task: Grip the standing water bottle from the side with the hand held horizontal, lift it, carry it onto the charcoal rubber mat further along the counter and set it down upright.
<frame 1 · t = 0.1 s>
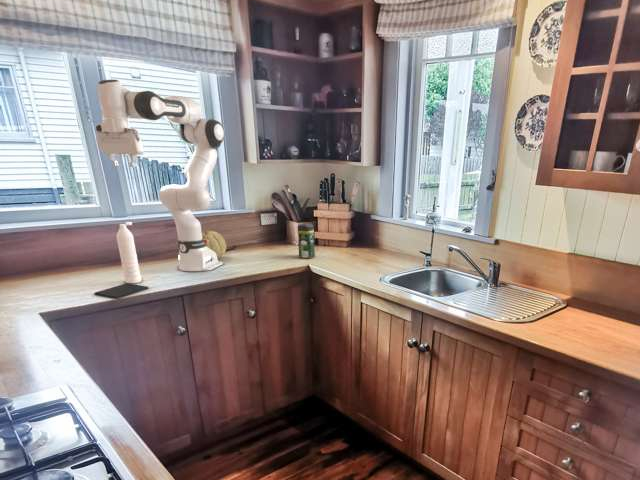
hand: (124, 166, 185), 48 cm above the worktop, tool pointing down, fingers open, 8 cm apart
ribbed yellow melon: (213, 259, 250), on the worktop, touching arm
water bottle: (135, 281, 208), on the worktop
pickle jar: (306, 257, 261), on the worktop
mat: (122, 291, 194), on the worktop
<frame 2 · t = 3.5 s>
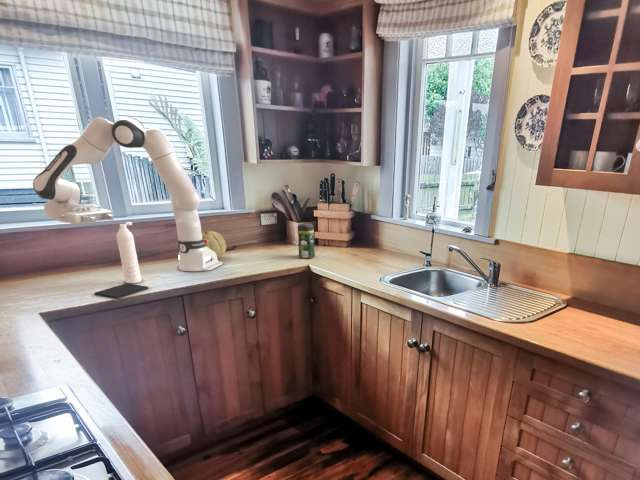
hand: (103, 218, 200), 26 cm above the worktop, tool horizontal, fingers open, 8 cm apart
nothing on the worktop moved.
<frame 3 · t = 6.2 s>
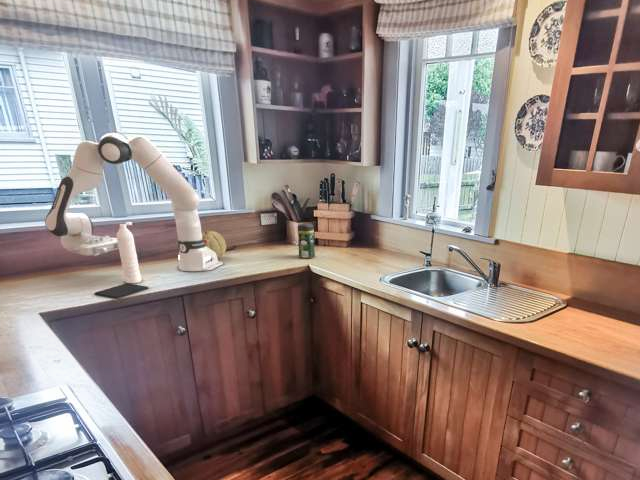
hand: (114, 248, 206), 13 cm above the worktop, tool horizontal, fingers open, 8 cm apart
nothing on the worktop moved.
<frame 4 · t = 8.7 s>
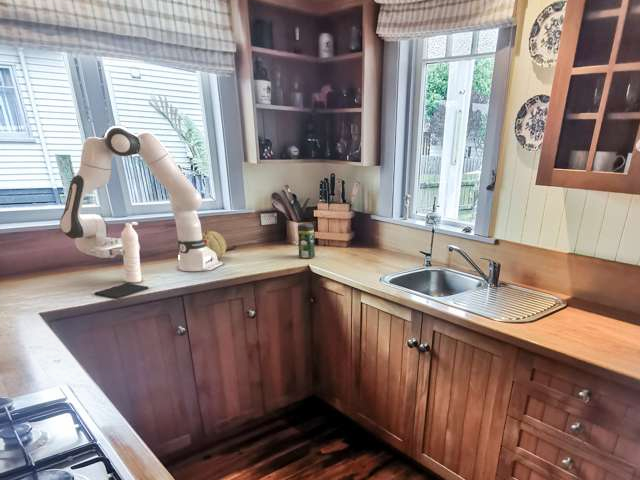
hand: (130, 250, 202), 14 cm above the worktop, tool horizontal, fingers closed on water bottle, 6 cm apart
water bottle: (134, 280, 208), on the worktop, touching gripper
everything else where it was.
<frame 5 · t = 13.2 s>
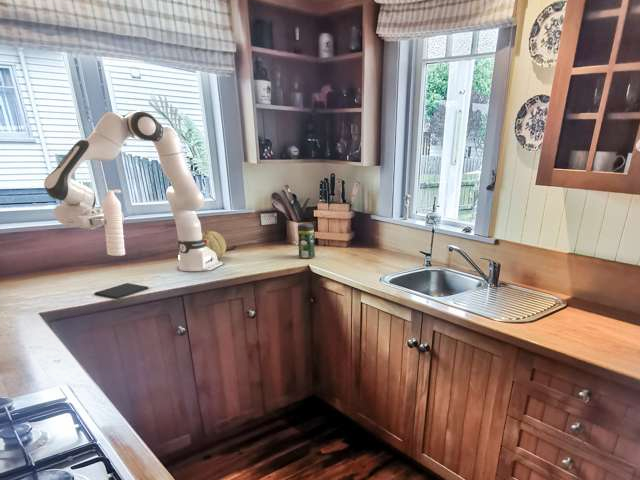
hand: (113, 221, 185), 28 cm above the worktop, tool horizontal, fingers closed on water bottle, 6 cm apart
water bottle: (118, 254, 191), point 15 cm above the worktop, touching gripper
everything else where it was.
when the fingers open (14 cm above the worktop, at t = 18.0 s): water bottle stays where it is, resting on mat.
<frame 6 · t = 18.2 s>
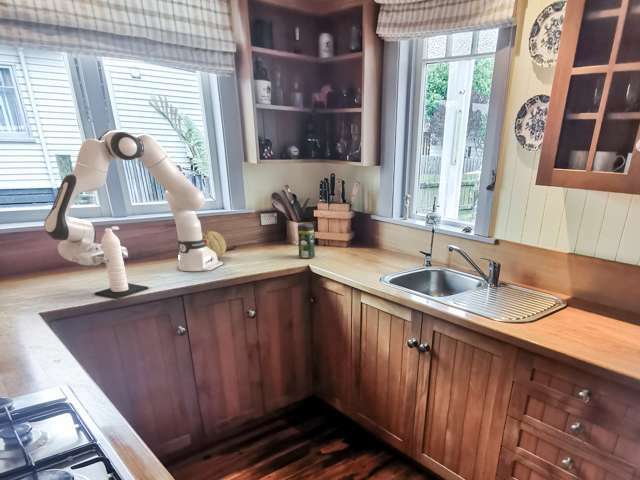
hand: (116, 257, 188), 14 cm above the worktop, tool horizontal, fingers open, 8 cm apart
water bottle: (121, 289, 194), point 1 cm above the worktop, touching gripper, mat
everything else where it was.
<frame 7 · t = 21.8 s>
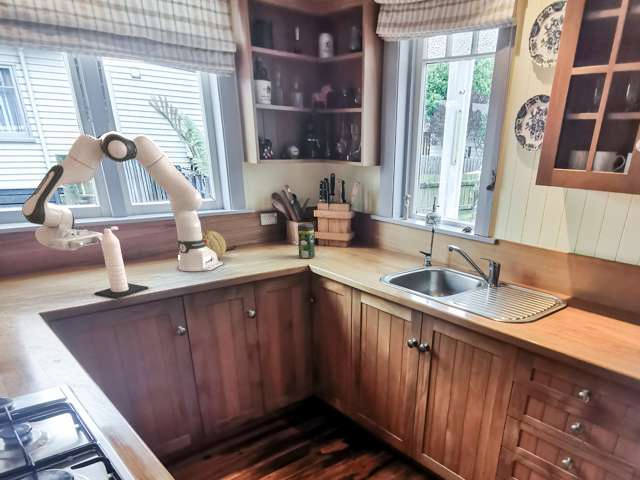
hand: (92, 243, 191), 19 cm above the worktop, tool horizontal, fingers open, 8 cm apart
water bottle: (121, 289, 194), point 1 cm above the worktop, touching mat
everything else where it was.
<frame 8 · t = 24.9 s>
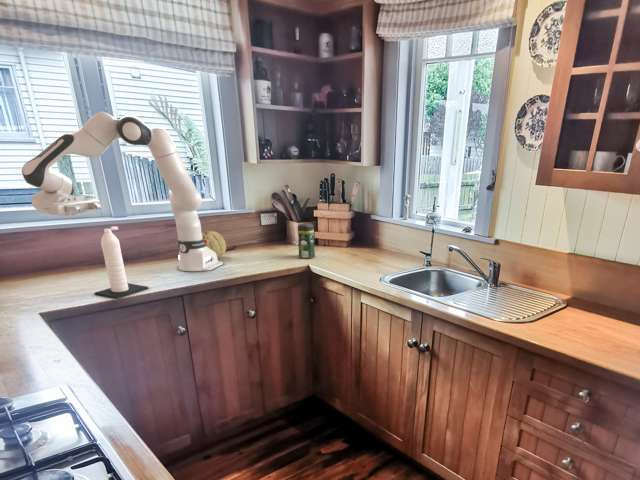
hand: (88, 208, 188), 32 cm above the worktop, tool horizontal, fingers open, 8 cm apart
nothing on the worktop moved.
at the end: water bottle inside the target area on the mat (0.1 cm from its centre), point 0.6 cm above the mat's base; water bottle tilted 0°; the gripper is holding nothing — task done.
